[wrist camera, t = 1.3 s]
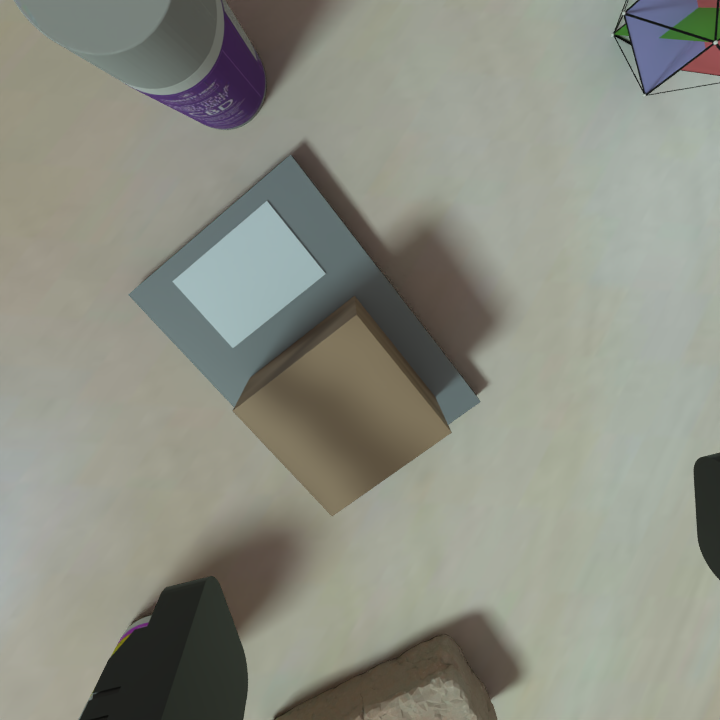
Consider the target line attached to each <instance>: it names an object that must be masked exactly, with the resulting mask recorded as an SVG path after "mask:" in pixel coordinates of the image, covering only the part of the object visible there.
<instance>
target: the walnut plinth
mask: <svg viewBox="0 0 720 720" xmlns="http://www.w3.org/2000/svg"><path fill="white" fill-rule="evenodd" d="M233 412H234V413H235V414H236V415H237V416H238V417H239V418H240V419H241V420H242V421H243V423H244V424H245V425H246V426H247V427H248V428H249V429H250V430H251V431H252V432H253V433H254V434H255V435H256V436H257V437H258V438H259V439H260V441H261V442H262V443H263V444H264V445H265V446H266V447H267V448H268V449H269V450H270V451H271V452H272V453H273V454H274V455H275V456H276V458H277V459H278V460H279V461H280V462H281V463H282V464H283V465H284V466H285V467H286V468H287V469H288V470H289V471H290V472H291V473H292V474H293V476H294V477H295V478H296V479H297V480H298V481H299V482H300V483H301V484H302V485H303V486H304V487H305V488H306V489H307V490H308V491H309V492H310V494H311V495H312V496H313V497H314V498H315V499H316V500H317V501H318V502H319V503H320V504H321V505H322V506H323V507H324V508H325V509H326V510H327V512H328V513H329V514H330V515H331V516H333V515H335V514H336V513H338V512H339V511H341V510H342V509H343V508H345V507H346V506H348V505H349V504H350V503H352V502H353V501H355V500H356V499H358V498H359V497H360V496H362V495H363V494H365V493H366V492H368V491H369V490H370V489H372V488H373V487H375V486H376V485H378V484H379V483H380V482H382V481H383V480H385V479H386V478H388V477H389V476H390V475H392V474H393V473H395V472H396V471H398V470H399V469H400V468H402V467H403V466H405V465H406V464H407V463H409V462H410V461H412V460H413V459H415V458H416V457H417V456H419V455H420V454H422V453H423V452H425V451H426V450H427V449H429V448H430V447H432V446H433V445H435V444H436V443H437V442H439V441H440V440H442V439H443V438H445V437H446V436H447V435H449V434H450V433H452V432H451V430H450V428H449V426H448V424H447V421H446V419H445V417H444V415H443V413H442V410H441V408H440V406H439V404H438V402H437V399H436V397H435V396H434V395H433V393H432V392H431V391H430V390H429V388H428V387H427V386H426V385H425V383H424V382H423V381H422V380H421V378H420V377H419V376H418V375H417V373H416V372H415V371H414V370H413V368H412V367H411V366H410V365H409V363H408V362H407V361H406V360H405V358H404V357H403V356H402V355H401V353H400V352H399V351H398V350H397V348H396V347H395V346H394V344H393V343H392V342H391V341H390V339H389V338H388V337H387V336H386V334H385V333H384V332H383V331H382V329H381V328H380V327H379V326H378V324H377V323H376V322H375V321H374V319H373V318H372V317H371V316H370V314H369V313H368V312H367V311H366V309H365V308H364V307H363V306H362V304H361V303H360V302H359V301H358V299H357V298H356V297H355V296H354V297H352V298H351V299H350V300H348V301H347V302H346V303H345V304H343V305H342V306H341V307H340V308H338V309H337V310H336V311H334V312H333V313H332V314H331V315H329V316H328V317H327V318H325V319H324V320H323V321H322V322H320V323H319V324H318V325H317V326H315V327H314V328H313V329H311V330H310V331H309V332H308V333H306V334H305V335H304V336H303V337H301V338H300V339H299V340H297V341H296V342H295V343H294V344H292V345H291V346H290V347H289V348H287V349H286V350H285V351H283V352H282V353H281V354H280V355H278V356H277V357H276V358H274V359H273V360H272V361H271V362H269V363H268V364H267V365H266V366H264V367H263V368H262V369H260V370H259V371H258V372H257V373H255V374H254V375H253V376H252V377H250V378H249V380H248V382H247V384H246V386H245V388H244V390H243V392H242V394H241V396H240V398H239V399H238V401H237V403H236V405H235V407H234V409H233Z"/></svg>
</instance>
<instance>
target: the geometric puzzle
mask: <svg viewBox="0 0 720 720" xmlns="http://www.w3.org/2000/svg"><path fill="white" fill-rule="evenodd" d="M626 1H627V0H626ZM626 1H625V3H626ZM627 3H628V1H627ZM624 6H625V4H624ZM626 6H627V4H626ZM623 9H624V7H623ZM623 9H622V11H623ZM625 9H626V7H625ZM621 14H622V17H623V15H624V19H625V23H626V24H625V25H624V26H622V27H621V28H620V29H618V30H617V31H616V29H617V27H618V25H619V23H620V21H621V19H622V17H621V15H620V17H621V19H620V17H619V19H620V21H619V20H618V22H619V23H617V25H616V28H615V31H616V32H615V31H614V33H612V34H611V36H612V37H613V36H614V37H617V38H619V39H621V40H623V41H624V42H626V43H628V44H630V45H631V46H632V50H633V53H634V57H635V61H636V65H637V69H638V73H639V76H640V80H641V84H642V87H641V86H640V84H639V82H638V80H637V78H636V76H635V74H634V72H633V70H632V68H631V66H630V64H629V63H628V64H629V66H630V68H631V70H632V72H633V74H634V76H635V78H636V80H637V82H638V84H639V86H640V87H641V89H642V88H643V89H642V91H643V93H644V94H643V97H646V96H647V95H648V94H649V93H651V92H652V91H653V90H655V89H656V88H657V87H659V86H660V85H661V84H663V83H664V82H665V81H667V80H668V79H669V78H671V77H672V76H673V75H675V74H676V73H677V72H679V71H681V70H682V71H689V72H696V73H703V74H710V75H717V76H720V0H637V1H636V2H635V3H634V4H633V5H632V6H631V7H629V8H628V9H627V10H626V11H625V10H624V11H623V12H621ZM618 35H624V36H629V38H630V42H629V41H627V40H625V39H623V38H621V37H620V36H618ZM615 39H616V38H615ZM616 41H617V39H616ZM617 43H618V41H617ZM618 45H619V43H618ZM619 47H620V45H619ZM620 49H621V47H620ZM621 51H622V49H621ZM622 53H623V51H622ZM623 55H624V53H623ZM624 57H625V55H624ZM625 59H626V57H625ZM626 61H627V59H626ZM627 62H628V61H627ZM714 84H718V83H714ZM708 85H712V84H708ZM702 86H706V85H702ZM697 87H700V86H697ZM691 88H694V87H691ZM685 89H688V88H685ZM679 90H682V89H679ZM673 91H677V90H673ZM667 92H671V91H667ZM661 93H665V92H661ZM655 94H659V93H655ZM649 95H653V94H649Z"/></svg>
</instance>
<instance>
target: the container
mask: <svg viewBox="0 0 720 720" xmlns="http://www.w3.org/2000/svg"><path fill="white" fill-rule="evenodd" d="M14 2H15V3H16V5H17V6H18V8H19V9H20V10H21V12H22V13H23V14H24V16H25V17H26V18H27V19H28V20H29V21H30V22H31V23H32V24H33V25H34V26H35V27H36V28H37V29H38V30H39V31H40V32H41V33H43V34H44V35H45V36H47V37H48V38H49V39H51V40H52V41H54V42H56V43H57V44H59V45H61V46H62V47H64V48H66V49H68V50H69V51H71V52H73V53H74V54H76V55H78V56H79V57H81V58H83V59H84V60H86V61H88V62H90V63H91V64H93V65H95V66H96V67H98V68H100V69H101V70H103V71H105V72H106V73H108V74H110V75H112V76H113V77H115V78H117V79H118V80H120V81H122V82H123V83H125V84H126V85H128V86H130V87H132V88H133V89H135V90H137V91H139V92H141V93H143V94H145V95H147V96H149V97H151V98H153V99H155V100H157V101H159V102H161V103H163V104H165V105H167V106H169V107H171V108H173V109H175V110H177V111H179V112H181V113H183V114H185V115H187V116H189V117H191V118H192V119H194V120H196V121H198V122H200V123H202V124H204V125H207V126H209V127H212V128H215V129H221V130H229V129H235V128H238V127H241V126H243V125H245V124H247V123H248V122H249V121H251V120H252V119H253V118H254V117H255V116H256V115H257V113H258V112H259V110H260V108H261V106H262V104H263V101H264V98H265V94H266V75H265V70H264V67H263V64H262V62H261V60H260V58H259V56H258V54H257V52H256V50H255V49H254V47H253V45H252V44H251V42H250V40H249V39H248V37H247V35H246V34H245V32H244V30H243V29H242V27H241V25H240V24H239V22H238V21H237V19H236V17H235V16H234V14H233V12H232V11H231V9H230V7H229V6H228V4H227V2H226V1H225V0H14Z"/></svg>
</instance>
